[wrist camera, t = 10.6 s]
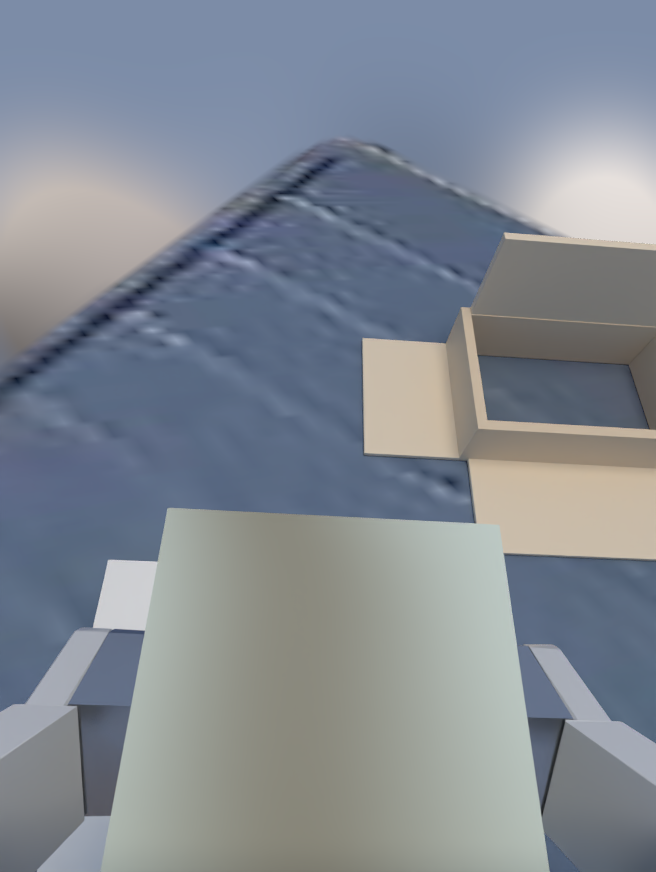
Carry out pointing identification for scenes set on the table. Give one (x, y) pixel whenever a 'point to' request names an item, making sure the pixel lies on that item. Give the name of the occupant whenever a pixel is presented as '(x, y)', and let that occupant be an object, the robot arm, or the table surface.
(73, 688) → the robot arm
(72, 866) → the white board
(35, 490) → the table surface
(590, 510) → the carton
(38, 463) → the table surface
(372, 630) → the box
